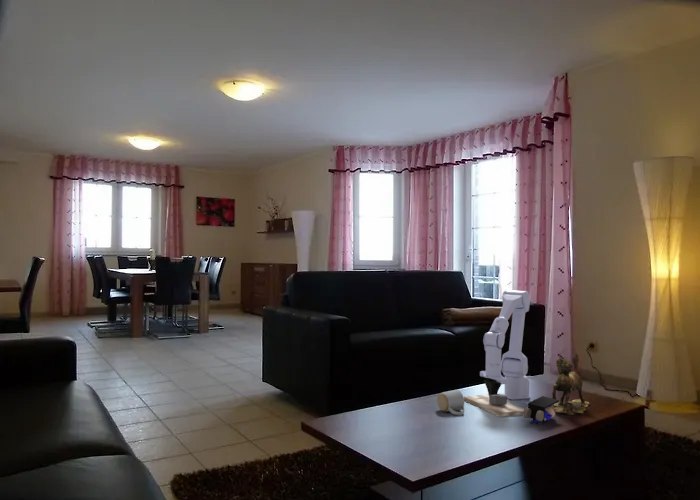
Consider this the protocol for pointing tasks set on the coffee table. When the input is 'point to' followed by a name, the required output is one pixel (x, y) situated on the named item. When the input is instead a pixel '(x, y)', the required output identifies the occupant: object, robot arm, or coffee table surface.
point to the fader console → (494, 406)
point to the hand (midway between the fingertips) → (492, 398)
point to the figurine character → (540, 409)
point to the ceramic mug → (451, 402)
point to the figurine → (569, 388)
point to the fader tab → (497, 399)
